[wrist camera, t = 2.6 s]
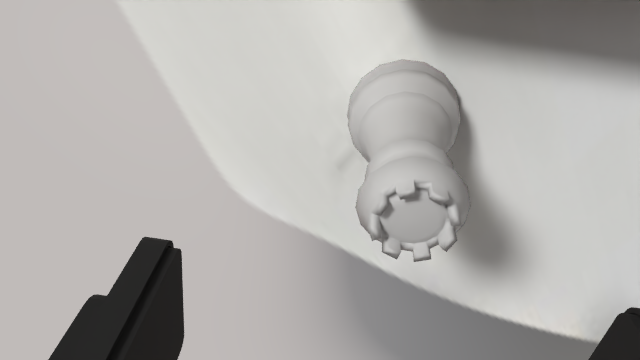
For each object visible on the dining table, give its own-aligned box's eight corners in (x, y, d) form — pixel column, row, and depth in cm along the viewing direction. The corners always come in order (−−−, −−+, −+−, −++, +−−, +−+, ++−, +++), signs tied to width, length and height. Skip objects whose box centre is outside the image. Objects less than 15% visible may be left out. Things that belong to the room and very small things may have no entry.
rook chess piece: (401, 31, 18) (415, 121, 12) (481, 104, 20) (535, 224, 13) (325, 112, 20) (300, 228, 14) (402, 174, 22) (413, 308, 15)
